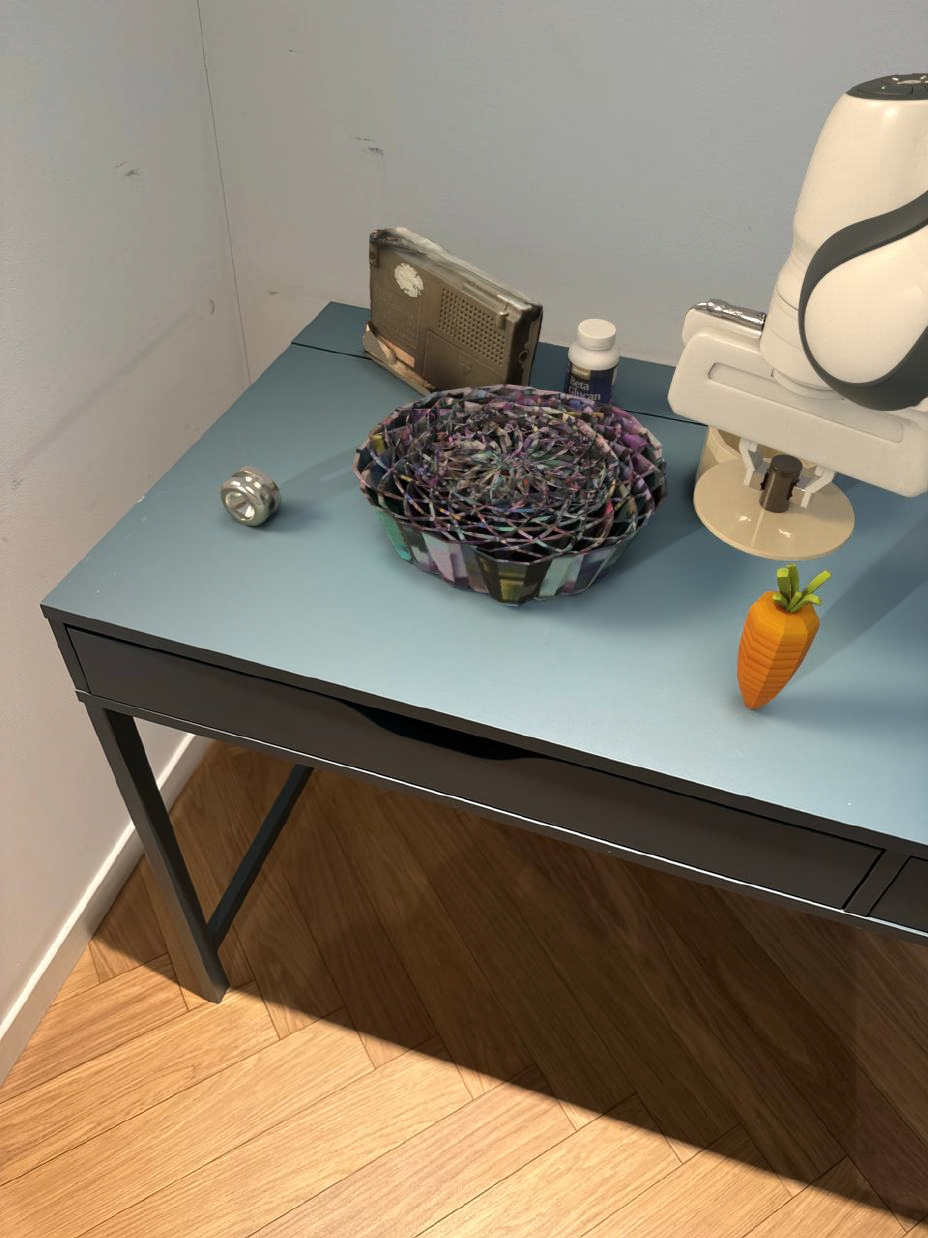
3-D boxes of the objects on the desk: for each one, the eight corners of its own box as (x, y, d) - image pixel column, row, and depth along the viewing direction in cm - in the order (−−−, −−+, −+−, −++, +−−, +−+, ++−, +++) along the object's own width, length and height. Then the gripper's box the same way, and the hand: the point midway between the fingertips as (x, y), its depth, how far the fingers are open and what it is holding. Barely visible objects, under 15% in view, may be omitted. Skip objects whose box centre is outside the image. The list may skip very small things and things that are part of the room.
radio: (546, 420, 104) (559, 290, 93) (484, 448, 100) (490, 315, 89) (419, 333, 116) (417, 209, 106) (359, 354, 113) (351, 228, 102)
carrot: (785, 693, 77) (842, 553, 67) (778, 739, 74) (838, 600, 63) (723, 677, 78) (770, 536, 68) (714, 721, 75) (761, 581, 64)
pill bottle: (559, 419, 104) (568, 337, 97) (564, 393, 108) (573, 312, 101) (609, 425, 104) (622, 343, 97) (612, 398, 107) (624, 317, 100)
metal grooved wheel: (283, 517, 91) (277, 474, 88) (266, 535, 89) (259, 492, 86) (240, 501, 93) (232, 459, 89) (221, 519, 91) (213, 476, 87)
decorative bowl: (616, 676, 81) (644, 592, 73) (311, 586, 84) (308, 498, 77) (662, 495, 98) (688, 414, 91) (407, 428, 102) (413, 344, 94)
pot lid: (871, 503, 79) (892, 451, 75) (820, 589, 72) (841, 537, 68) (727, 450, 84) (741, 399, 80) (666, 526, 76) (678, 474, 73)
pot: (837, 474, 98) (861, 411, 93) (778, 565, 88) (800, 501, 83) (731, 436, 103) (747, 374, 97) (663, 519, 93) (677, 454, 87)
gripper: (672, 308, 68) (641, 466, 78) (968, 401, 61) (893, 564, 70) (708, 275, 72) (674, 430, 82) (991, 359, 64) (916, 519, 74)
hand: (777, 493), depth 76 cm, fingers closed on pot lid, 2 cm apart
